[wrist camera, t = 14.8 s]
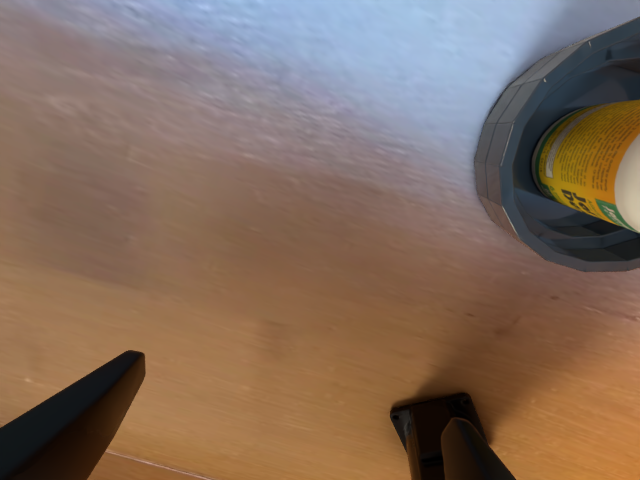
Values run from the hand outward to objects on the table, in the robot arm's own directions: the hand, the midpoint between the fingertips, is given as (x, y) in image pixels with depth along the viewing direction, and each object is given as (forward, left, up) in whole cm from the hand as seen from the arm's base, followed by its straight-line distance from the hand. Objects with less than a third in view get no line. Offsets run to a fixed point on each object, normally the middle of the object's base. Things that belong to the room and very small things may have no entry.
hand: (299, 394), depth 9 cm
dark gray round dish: (0, -15, -13) cm, 20 cm away
